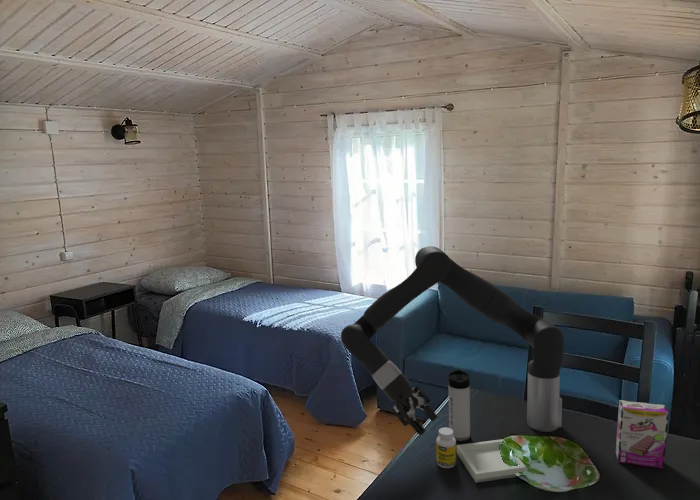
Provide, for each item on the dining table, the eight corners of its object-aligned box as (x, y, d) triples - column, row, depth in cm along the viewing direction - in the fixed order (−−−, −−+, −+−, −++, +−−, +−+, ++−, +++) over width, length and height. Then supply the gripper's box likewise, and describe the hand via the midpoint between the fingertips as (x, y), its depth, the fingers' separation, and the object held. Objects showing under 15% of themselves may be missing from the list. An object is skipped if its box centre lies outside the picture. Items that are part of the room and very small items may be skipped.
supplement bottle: (436, 468, 142) (435, 435, 140) (436, 457, 147) (435, 425, 145) (456, 469, 141) (456, 436, 139) (455, 458, 146) (455, 426, 144)
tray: (502, 447, 150) (502, 439, 150) (525, 475, 137) (526, 466, 136) (456, 453, 148) (456, 445, 148) (475, 482, 135) (475, 473, 134)
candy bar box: (618, 463, 140) (620, 407, 137) (615, 453, 145) (618, 399, 142) (665, 470, 136) (669, 412, 133) (660, 459, 141) (664, 403, 138)
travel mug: (468, 430, 161) (468, 369, 157) (471, 441, 154) (471, 378, 151) (448, 429, 161) (447, 369, 158) (450, 441, 155) (449, 378, 151)
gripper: (387, 383, 141) (427, 431, 137) (409, 364, 153) (447, 408, 149) (371, 397, 145) (410, 445, 141) (394, 377, 156) (430, 421, 153)
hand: (429, 426), depth 145 cm, fingers open, 8 cm apart
